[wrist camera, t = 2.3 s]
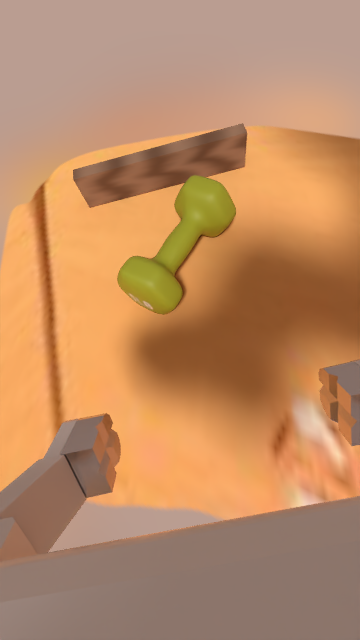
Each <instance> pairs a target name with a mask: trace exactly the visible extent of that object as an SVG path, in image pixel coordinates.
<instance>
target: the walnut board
mask: <svg viewBox="0 0 360 640" xmlns="http://www.w3.org/2000/svg"><path fill="white" fill-rule="evenodd" d="M246 141H247V131H246V129H245V127H244V125H243V124H239V125H236V126H232V127H228V128H224V129H221V130H217V131H213V132H210V133H206V134H202V135H199V136H195V137H191V138H188V139H184V140H181V141H177V142H173V143H170V144H166V145H162V146H159V147H155V148H151V149H148V150H144V151H140V152H137V153H133V154H129V155H126V156H122V157H118V158H115V159H111V160H107V161H104V162H100V163H97V164H93V165H89V166H86V167H82V168H78V169H75V170H73V180H74V181H75V183H76V185H77V187H78V188H79V190H80V192H81V193H82V195H83V197H84V199H85V200H86V202H87V204H88V205H89V207H94V206H98V205H101V204H105V203H109V202H113V201H117V200H120V199H124V198H128V197H132V196H136V195H139V194H143V193H147V192H151V191H155V190H158V189H162V188H166V187H170V186H173V185H177V184H181V183H185V182H186V181H187V180H188V179H189V178H190V177H191V176H193V175H197V176H202V177H208V176H211V175H215V174H219V173H223V172H226V171H230V170H234V169H238V168H242V167H245V154H246Z"/></svg>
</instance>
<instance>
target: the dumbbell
mask: <svg viewBox="0 0 360 640" xmlns="http://www.w3.org/2000/svg"><path fill="white" fill-rule="evenodd" d="M174 205H175V210H176V212H177V213H178V215H179V216H180V218H181V219H182V220H181V222H180V223H179V224H178V225H177V227H176V228H175V229H174V230H173V231H172V233H171V234H170V235H169V236H168V238H167V239H166V241H165V242H164V244H163V245H162V247H161V249H160V250H159V252H158V254H157V255H156V256H155V257H154V258H152V259H148V258H145V257H141V256H133V257H131V258H129V259H128V260H127V261H126V262H125V264H124V265H123V266H122V268H121V269H120V271H119V273H118V277H117V280H118V284H119V286H120V287H121V289H122V290H123V291H124V292H125V293H126V294H127V295H128V296H129V297H130V298H131V299H133V300H134V301H135V302H136V303H138V304H139V305H141V306H143V307H145V308H146V309H148V310H151V311H153V312H155V313H158V314H163V315H164V314H168V313H169V312H171V311H173V310H174V309H175V308H176V306H177V305H178V303H179V302H180V300H181V298H182V295H183V291H182V288H181V286H180V284H179V282H178V281H177V280H176V278H175V272H176V270H177V269H178V268H179V266H180V265H181V264H182V262H183V261H184V260H185V258H186V257H187V255H188V254H189V253H190V251H191V249H192V248H193V246H194V245H195V243H196V242H197V240H198V238H199V236H200V235H204V236H208V237H216V236H218V235H219V234H221V233H222V232H223V231H224V230H225V229H226V228H227V227H228V226H229V224H230V223H231V222H232V220H233V218H234V217H235V215H236V208H235V205H234V203H233V201H232V199H231V197H230V195H229V194H228V192H227V190H226V189H225V187H224V186H223V185H222V184H221V183H219V182H217V181H215V180H212V179H209V178H206V177H202V176H197V175H193V176H191V177H190V178H189V179H188V180H187V181H186V182H185V184H184V185H183V187H182V188H181V190H180V192H179V194H178V196H177V198H176V200H175V204H174Z"/></svg>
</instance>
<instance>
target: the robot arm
mask: <svg viewBox="0 0 360 640" xmlns="http://www.w3.org/2000/svg"><path fill="white" fill-rule="evenodd" d="M319 380H320V381H321V383H322V384H323V387H322V388H321V390H320V399H321V402H322V406H323V408H324V410H325V412H326V414H327V415H328V416H329V418H330V419H331V420H333V421H335V422H338V426H339V431H340V432H341V433H342V434H343V436H344V437H345V438H346V440H347V441H348V442H349V443H350V445H351V446H355V445H360V359H359V360H355V361H351V362H349V363H344V364H339V365H335V366H330V367H326V368H321V369H320V370H319ZM112 424H113V422H112V420H111V417H110V415H109V414H107V413H106V414H100V415H95V416H90V417H84V418H80V419H74V420H69V421H66V422H64V423H62V425H61V427H60V429H59V431H58V433H57V434H56V436H55V438H54V440H53V442H52V444H51V445H50V447H49V449H48V451H47V453H46V455H45V457H44V458H43V459H41V460H38V461H37V462H36V463H34V464H33V465H32V466H31V467H30V468H28V469H27V470H26V471H25V472H24V473H22V474H21V475H20V476H19V477H18V478H17V479H15V480H14V481H13V482H12V483H11V484H9V485H8V486H7V487H6V488H5V489H3V490H2V491H1V492H0V640H360V496H357V497H351V498H346V499H340V500H335V501H329V502H324V503H318V504H313V505H307V506H302V507H296V508H290V509H285V510H279V511H274V512H268V513H263V514H257V515H252V516H247V517H241V518H236V519H230V520H225V521H219V522H214V523H208V524H203V525H197V526H192V527H186V528H181V529H175V530H170V531H164V532H159V533H154V534H148V535H142V536H137V537H132V538H126V539H120V540H115V541H109V542H104V543H99V544H93V545H87V546H82V547H76V548H71V549H65V550H60V551H54V552H49V553H48V551H49V550H50V548H51V547H52V546H53V545H54V543H55V542H56V540H57V539H58V538H59V536H60V535H61V534H62V532H63V531H64V530H65V528H66V527H67V525H68V524H69V523H70V521H71V520H72V519H73V517H74V516H75V515H76V513H77V512H78V510H79V509H80V508H81V506H82V505H83V504H84V502H85V501H86V498H88V497H93V496H97V495H102V494H106V493H111V492H112V491H113V487H114V482H115V478H116V471H115V468H114V467H115V466H116V465H117V463H118V462H119V460H120V455H121V446H120V440H119V437H118V434H117V432H115V431H114V430H112V429H111V427H112Z"/></svg>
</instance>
